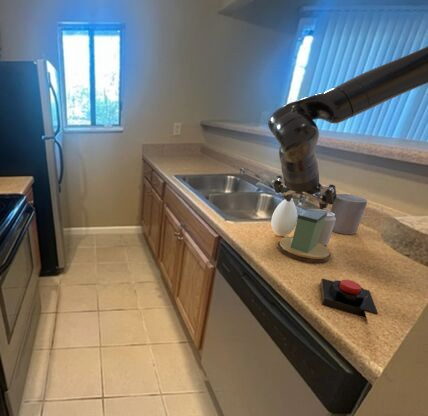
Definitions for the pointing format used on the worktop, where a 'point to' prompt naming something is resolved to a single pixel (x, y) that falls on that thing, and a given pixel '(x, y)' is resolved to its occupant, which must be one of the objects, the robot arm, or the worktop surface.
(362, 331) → the worktop surface
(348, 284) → the bell button
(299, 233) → the tea box
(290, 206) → the sauce bottle
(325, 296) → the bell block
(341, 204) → the pillar candle
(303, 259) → the disc
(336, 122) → the robot arm
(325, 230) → the can
